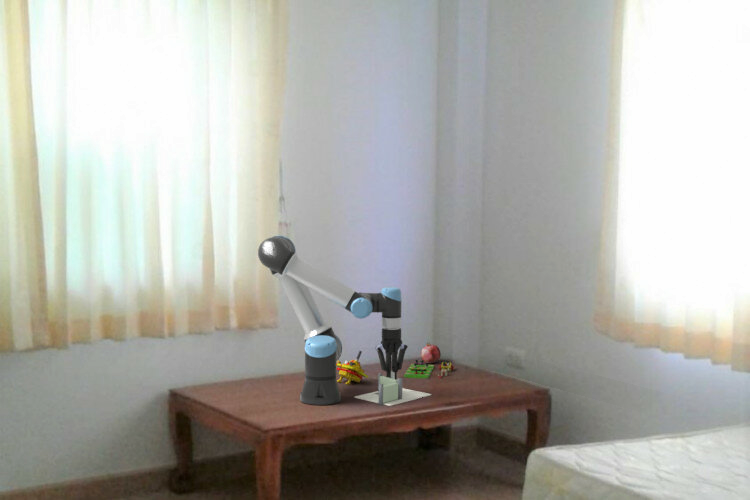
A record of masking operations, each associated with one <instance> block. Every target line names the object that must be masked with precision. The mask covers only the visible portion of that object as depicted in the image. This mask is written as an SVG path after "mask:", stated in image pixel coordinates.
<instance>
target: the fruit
mask: <svg viewBox="0 0 750 500" xmlns="http://www.w3.org/2000/svg"><path fill="white" fill-rule="evenodd" d="M441 356H442V354H441V350H440V348H439V346H437V345H435V344H431V342H430V341H428V342H427V343H426V345H425V346H424V347H422V349H421V352H420V358H421V361H422V360H424V361H423V363H424V364H432V363H436V362H437V361H439V360H440V359H441Z"/></svg>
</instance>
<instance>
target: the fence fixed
mask: <svg viewBox="0 0 750 500" xmlns="http://www.w3.org/2000/svg"><path fill="white" fill-rule="evenodd" d="M396 380H397V383H393V384H389V385H385V386H383V384H379V403H378V405H379V406H382V405H383V403H385V402H389V401H393V400H397V399H402V388H403V382H404V379H403V377H397V379H396ZM383 406H384V405H383Z"/></svg>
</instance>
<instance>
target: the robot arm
mask: <svg viewBox="0 0 750 500" xmlns="http://www.w3.org/2000/svg"><path fill="white" fill-rule="evenodd" d="M295 247H296V246H295V244H294V243H293V241H292V240H291V239H290V238H288V237H287V236H284V235H274V236H271V237H268V238H265V239H264V240H263V241H262V242H261V243H260V245H259V246H258V250H257V256H258V259H259V261H260V263H261V264H262V265H263V266H264V267H266V268H268V269H269V271H270V272H271V275H272V277H275V278H277V279H278V280H279V282H280V284H281V286H282V288H283V290H284V293H285V295H286V296H287V298H288V301H289V302H290V304H291V307H292V309H293V311H294V312H295V315H296V317H297V319H298V321H299V323H300V325H301V327H302V329H303V331H304V334H305V335H304V337H303V341H304V343H305V345H304V353H305V354H304V359H305V360H304V383H303V385H302V389H301V392H300V395H299V396H300V397H299V400H300V402H301V403H304V404H307V405H313V406H316V405H317V406H326V405H334V404H338V403H340V402H341V400H342V398H341V397H342V394H341V392H340V388H339V385H338V382H337V366H336V363H337V361H339V360H340V358H341V356H342V354H343V353H342V352H343V344H342V341H341V339H340V338H339V337H338V335H337V334H335V331H334V330H333V328H332V326H331V325H330V324H327V323H326V322H325V321H324V318H323V316H322V314H321V312H320V310H319V307H318V305H317V304H316V302H315V300H314V298H313V296H312V293H311V291H310V289H311V290H313V292H316V293H317V294H319V295H321V296H322V297H324V298H326V299H327V300H329V301H331V302H333V303H334V304H336V305H338V306H340V307H341V308H343V309H345V310H347V311H348V312H350V313H351V314H352V316H353V317H355V318H357V319H361V320H362V319H366V318H367V317H369V316H370V315H371V313H378V314H379V313H381V327H382V328H381V341H380V344H379V345H378V346H375V350H376V353H377V355H378V359H379V363H380V367H381V370H382V371H384V372H386V377H388V378H392V379H395V380H397V378H398V377H397V373H398V371H400V370H402V368H403V367H402V366H403V362H404V357H405V354H406V350H407V349H408V347H409V345H407V344H405V343H403V340H402V291H401V289H400V288H399V287H392V286H391V287H383V288H382V289H381V292H357V291H355V290H354V289H353V288H351V287H348V285H345V284H344V283H342V282H340V281H339V280H338V279H337V280H336V279H335V278H333V277H332V276H330V275H328V274H327V273H325V272H324V271H321V270H320V269H318V268H316V267H315V266H313V265H311V264H310V263H308V262H306V261H304V260H303V259H301V258H299V257H298V255H297V251H296V248H295ZM384 351H385V355H384Z"/></svg>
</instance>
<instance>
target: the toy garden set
mask: <svg viewBox="0 0 750 500" xmlns="http://www.w3.org/2000/svg"><path fill="white" fill-rule="evenodd" d="M423 361H424V360H422V359H421V360H420V363H419V360H418V359H415V363H410V366H409V367H408V369H406V371H405V373H404V376H403V378H404V377H405V378H406V377H408V378H409V379H425V378H428V379H429V377H430V376H431V375H432V374H431V373H432V372H433V370H434V368H435V364H429V363H425V362H423ZM454 367H455V366H454V365H452V362H449V361H448V360H447V361H443V362H441V364H438V370H439V371H441V372H440V374H441V375H439V374H438V375H437V377H438V378H439V379H441V378H442V377H446V376H448V372H451V370H453V371H454V370H455V368H454ZM432 369H433V370H432ZM405 378H404V379H405Z"/></svg>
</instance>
